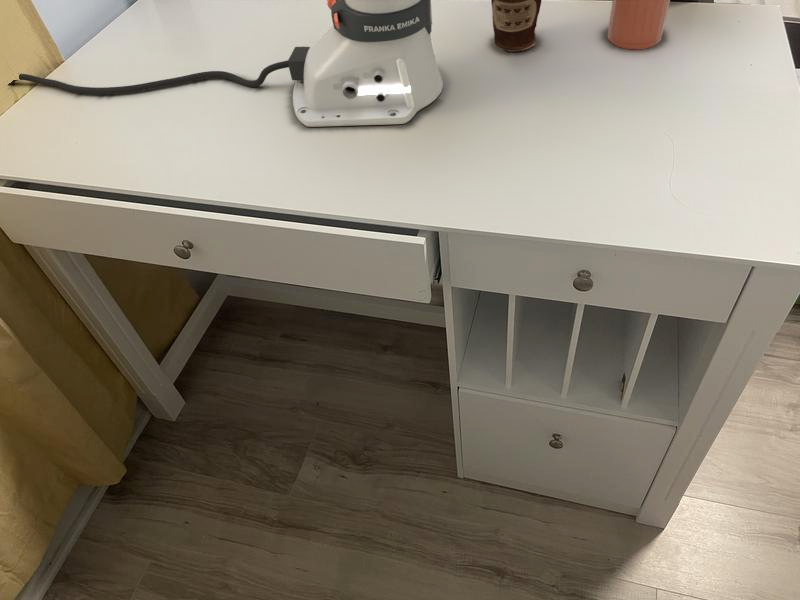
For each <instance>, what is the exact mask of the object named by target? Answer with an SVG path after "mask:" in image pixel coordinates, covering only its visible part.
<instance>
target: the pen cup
mask: <svg viewBox="0 0 800 600" xmlns="http://www.w3.org/2000/svg"><path fill="white" fill-rule="evenodd" d="M611 1H612V2H611V9H610V15H609V22H608V28H607V39H608V41H609V42H610V43H611V44H613V45H615V46H616V47H618V48H622V49H625V50H626V49H627V50H645V49H650V48H652V47H655V46H657V45H658V44H659V43H660V42H661V40H662V36H663V34H664V29H665V25H666V19H667V15H668V10H669V6H670V2H671V0H611Z"/></svg>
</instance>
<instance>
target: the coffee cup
mask: <svg viewBox="0 0 800 600" xmlns="http://www.w3.org/2000/svg"><path fill="white" fill-rule="evenodd" d="M490 1H491V13H492V27H493V34H494V35H493V36H494V38H493V39H494V45H495V46H496V47H497V48H498V49H499V50H502V51H507V52H520V51H525V50H528V49H530V48H532V47H534V46H535V45H536V40H537V38H536V28H537V26H538V25H537V24H538V17H539V14H540V10H541V6H542V0H490Z"/></svg>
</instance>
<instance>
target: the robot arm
mask: <svg viewBox="0 0 800 600" xmlns="http://www.w3.org/2000/svg"><path fill="white" fill-rule="evenodd" d="M326 4H327V5H326V6H327V7H328V9H329V10H330V13H331V15H330V16H331V20H332V25H331V26H330V27H329V29H328V30H327V31H325V32H324V33H323V35H321V36H320V37H319V38H318V39H317V40H316V41H315V42H313V44H312V45H311V46H294V48H293V51H292V52H291V54H290V55H289V58H288V59H287V60H283V61H279V62H275V63H272V64H269V65H267V66H266V67H264V68H263V69H262V71H260V74H259V75H258V77H257V78H256V79H254V80H249V79H246V78H243V77H241V76H238V75H237V74H234V73H232V72H228V71H223V70H208V71H202V72H195V73H191V74H187V75H186V74H185V75H182V76H177V77H171V78H166V79H165V78H164V79H160V80H154V81H150V82H145V83H138V84H131V85H123V86H110V87H109V86H107V87H105V86H103V87H92V86H91V87H90V86H78V85H72V84H68V83H66V82H63V81H59V80H56V79H52V78H44V77H40V76H35V75H32V74H28V73H19V74H20V75H19V79H20V80H13V81H12V82H11V83H9V84H8V85H7V86H9V87H10V86H13V85H15V84H16V83H17V82H18V81H26V82H31V83H35V84H39V85H44V86H50V87H55V88H58V89H61V90H65V91H68V92H72V93H77V94H87V95H88V94H89V95H114V94H115V95H116V94H127V93H128V94H129V93H134V92H135V93H136V92H141V91H146V90H153V89H157V88H164V87H169V86H174V85H179V84H184V83H185V84H186V83H189V82H194V81H199V80H205V79H215V78H216V79H217V78H218V79H226V80H229V81H232V82H234V83H237V84H239V85H241V86H245V87H247V88H248V87H249V88H257V87H260V86H261V85H263V83H264V82H265V80H266V78H267V77H268V75H269V74H271V73H273V72H276V71H278V70H282V69H286V68H288V69H289V75H290V78H291V81H296V82H295V83H294V87H293V90H292V104H293V105H292V106H293V110H294V114H295V117H296V118H297V119H298V121H299V122H300V123H301V124H302V125H304V126H305V127H312V128H313V127H317V128H318V127H343V126H344V127H345V126H347V127H348V126H349V127H350V126H378V125H379V126H380V125H404V124H406V123H408V122H410V120H412V119H413V118H414V116H415V115H416V114H417V113H418V112H419V111H421V110H422V109H424V108H426V107H427V106H429V105H430V104H432V103H433V102H434V101H435V100H436V99H437V98H438V97H439V96H440V94H441V93H442V91H443V88H444V81H443V77H442V75H441V73H440V69H439V67H438V62H437V60H436V55H435V51H434V47H433V46H434V45H433V41H432V35H431V34H432V25H433V10H432V8H433V7H432V0H326Z"/></svg>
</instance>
